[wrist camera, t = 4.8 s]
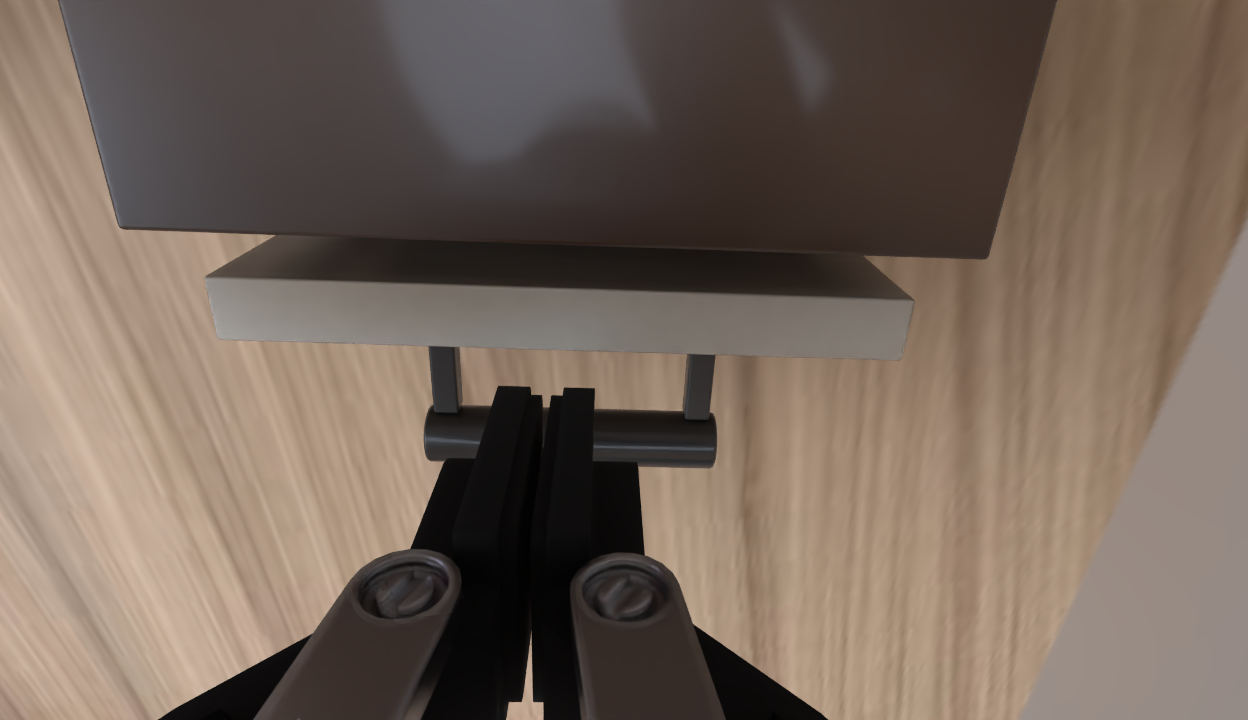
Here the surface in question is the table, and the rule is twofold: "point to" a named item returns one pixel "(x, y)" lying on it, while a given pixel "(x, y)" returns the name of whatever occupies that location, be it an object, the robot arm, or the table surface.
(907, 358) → the table surface
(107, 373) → the table surface
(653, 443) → the drawer
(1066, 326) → the table surface
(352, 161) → the cabinet
